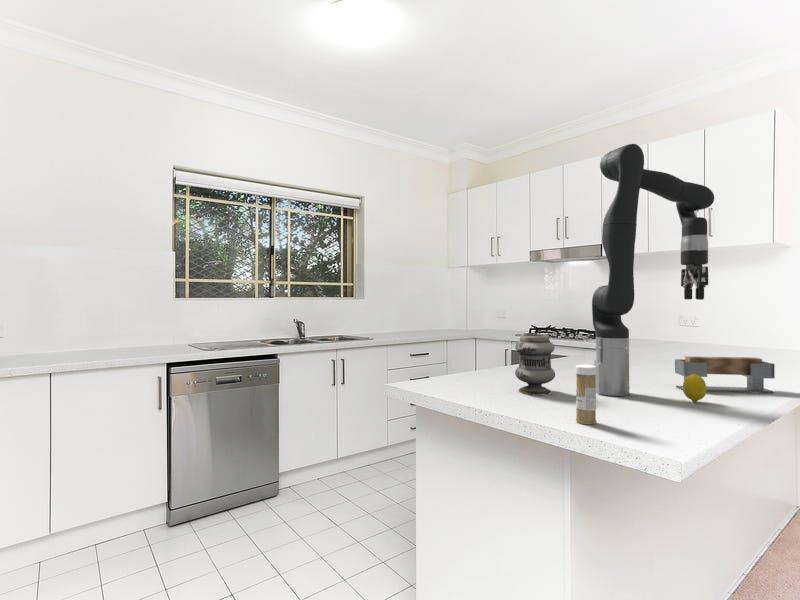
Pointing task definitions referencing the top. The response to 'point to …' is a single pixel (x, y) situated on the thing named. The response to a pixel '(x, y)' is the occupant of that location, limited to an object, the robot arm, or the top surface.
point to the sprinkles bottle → (586, 394)
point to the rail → (726, 364)
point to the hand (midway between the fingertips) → (693, 299)
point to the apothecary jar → (535, 363)
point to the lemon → (694, 387)
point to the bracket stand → (753, 385)
